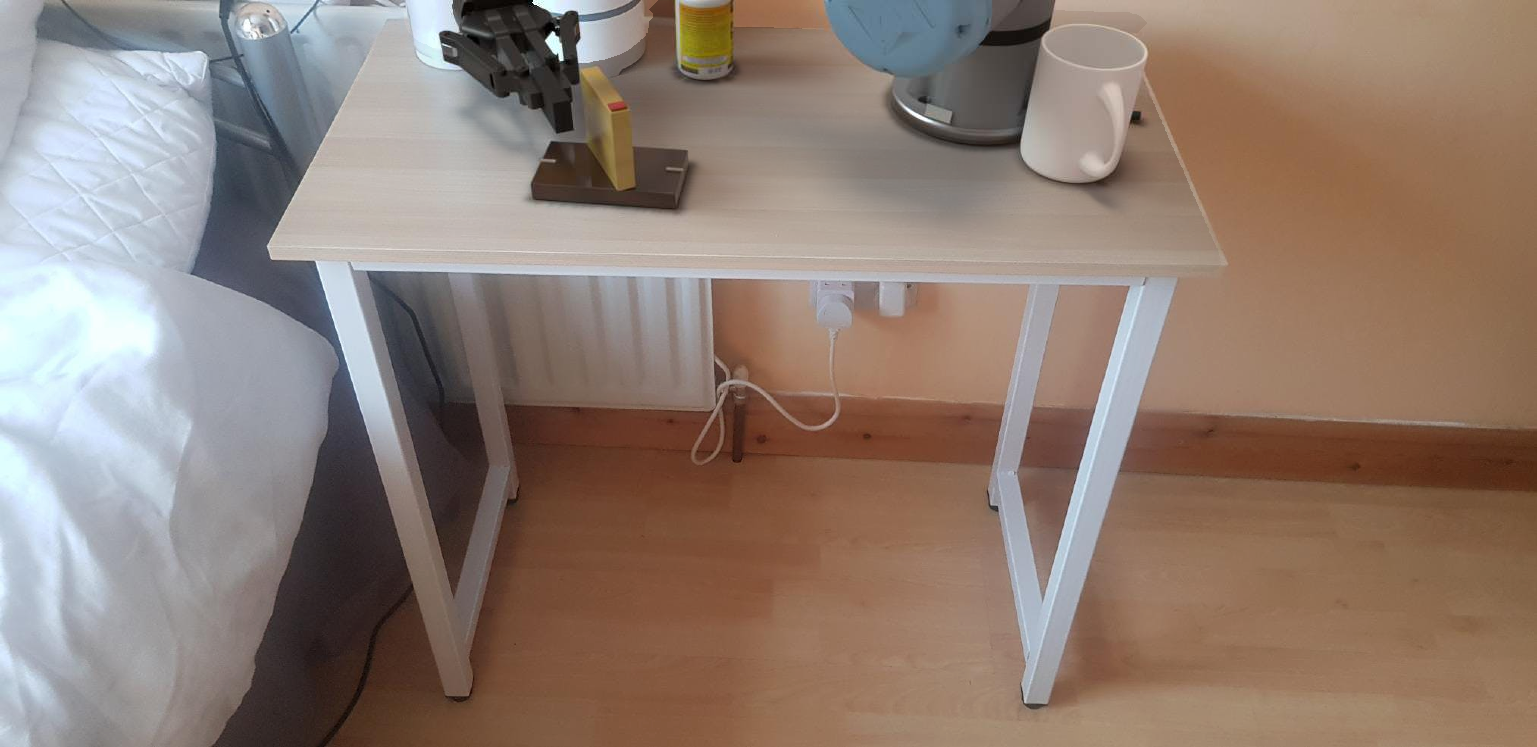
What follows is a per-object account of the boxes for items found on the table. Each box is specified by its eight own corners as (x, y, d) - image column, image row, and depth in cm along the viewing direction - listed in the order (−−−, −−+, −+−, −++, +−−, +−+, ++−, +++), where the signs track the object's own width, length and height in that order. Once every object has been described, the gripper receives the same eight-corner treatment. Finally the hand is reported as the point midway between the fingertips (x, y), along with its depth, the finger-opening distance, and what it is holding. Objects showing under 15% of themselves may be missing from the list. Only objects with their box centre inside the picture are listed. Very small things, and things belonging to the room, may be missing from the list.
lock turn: (587, 145, 93) (579, 66, 88) (605, 141, 94) (597, 63, 89) (617, 191, 88) (610, 111, 83) (635, 187, 88) (630, 107, 83)
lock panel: (689, 164, 94) (689, 148, 93) (677, 209, 89) (676, 192, 88) (551, 155, 95) (549, 138, 94) (531, 199, 89) (528, 181, 88)
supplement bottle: (741, 77, 106) (741, -26, 99) (686, 86, 105) (683, -18, 98) (723, 53, 110) (722, -48, 103) (670, 61, 109) (666, -41, 102)
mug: (1052, 212, 90) (1080, 93, 82) (1005, 138, 98) (1026, 26, 91) (1149, 204, 91) (1185, 86, 84) (1094, 132, 100) (1122, 20, 92)
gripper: (562, 30, 107) (643, 142, 91) (429, 52, 103) (490, 174, 87) (553, -46, 102) (637, 59, 86) (413, -26, 98) (475, 89, 82)
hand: (563, 117), depth 87 cm, fingers closed
